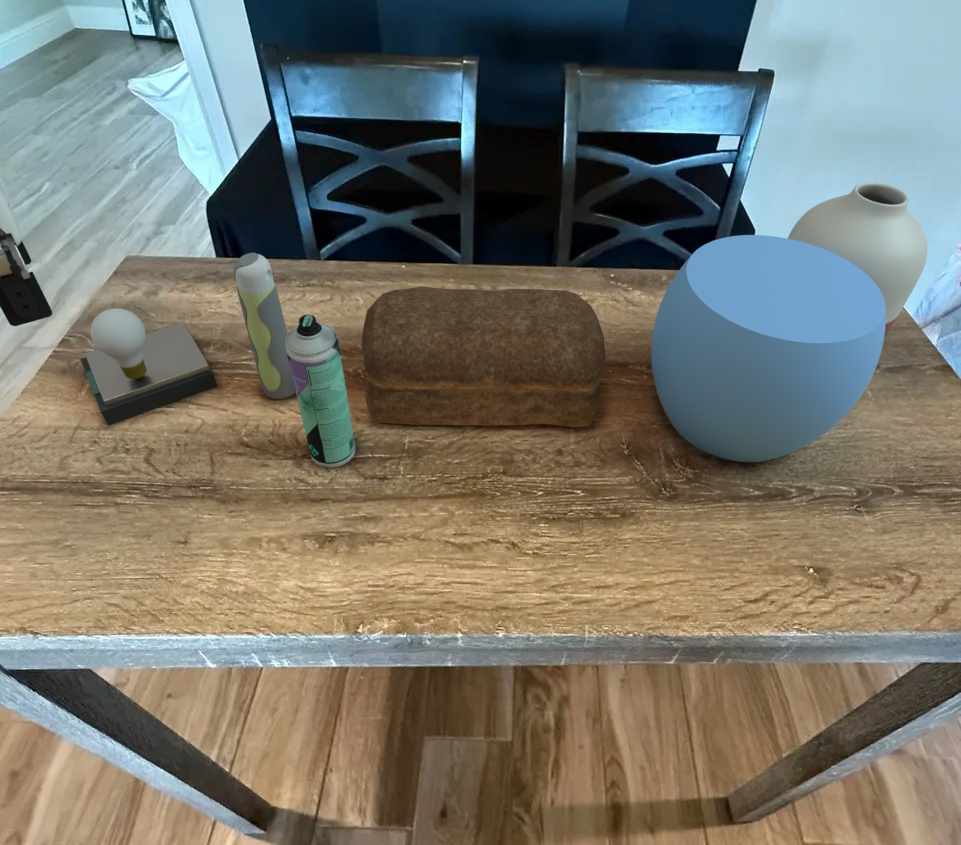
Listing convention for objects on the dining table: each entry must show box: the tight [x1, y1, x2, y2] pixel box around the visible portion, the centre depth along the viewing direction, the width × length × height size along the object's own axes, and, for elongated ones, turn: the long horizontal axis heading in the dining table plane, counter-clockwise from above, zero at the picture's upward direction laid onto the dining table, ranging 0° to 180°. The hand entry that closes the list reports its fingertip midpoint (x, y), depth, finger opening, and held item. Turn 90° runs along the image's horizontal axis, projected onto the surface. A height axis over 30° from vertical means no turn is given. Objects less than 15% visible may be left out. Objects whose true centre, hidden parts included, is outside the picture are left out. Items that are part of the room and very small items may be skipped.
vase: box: [787, 181, 928, 340], centre depth 92 cm, size 17×17×24 cm
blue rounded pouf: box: [650, 234, 886, 463], centre depth 82 cm, size 25×25×20 cm
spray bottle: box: [233, 252, 296, 400], centre depth 84 cm, size 5×5×20 cm
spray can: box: [285, 314, 356, 469], centre depth 76 cm, size 6×6×20 cm
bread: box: [361, 286, 606, 428], centre depth 87 cm, size 17×30×13 cm, turn 90°
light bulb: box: [89, 307, 147, 379], centre depth 83 cm, size 6×6×10 cm
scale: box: [80, 322, 219, 427], centre depth 90 cm, size 14×12×4 cm
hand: (22, 291), depth 59 cm, fingers open, 9 cm apart
